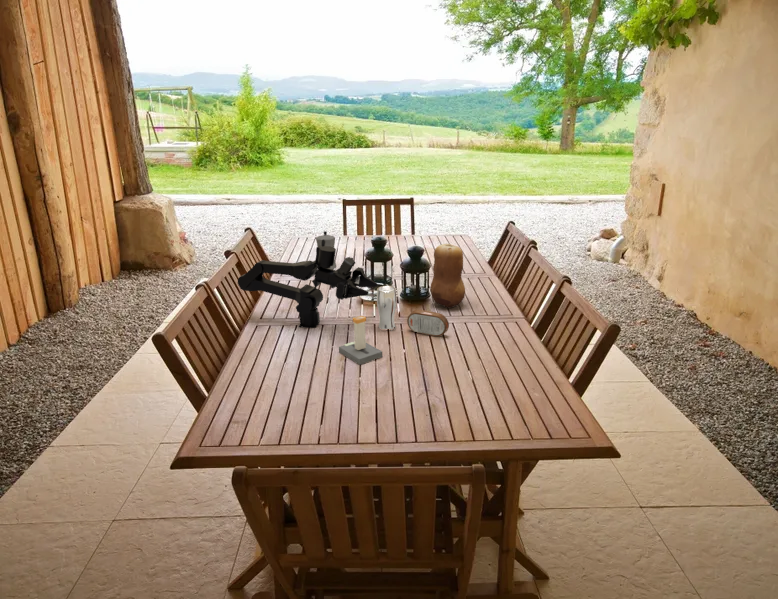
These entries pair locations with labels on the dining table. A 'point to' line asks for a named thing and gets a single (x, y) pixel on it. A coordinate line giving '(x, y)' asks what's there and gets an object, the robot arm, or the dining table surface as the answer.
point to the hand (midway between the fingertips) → (372, 289)
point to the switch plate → (360, 353)
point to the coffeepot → (326, 243)
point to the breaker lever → (359, 332)
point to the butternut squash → (447, 276)
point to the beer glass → (386, 306)
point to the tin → (428, 322)
